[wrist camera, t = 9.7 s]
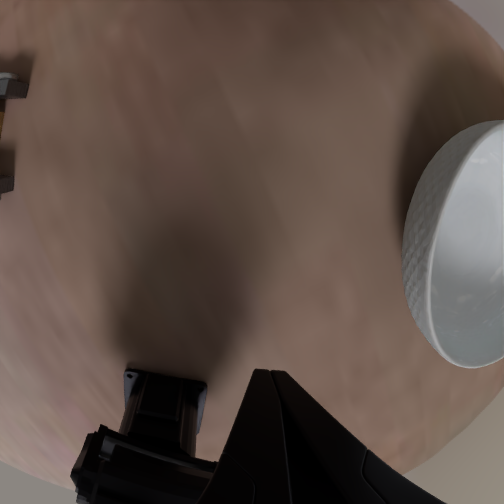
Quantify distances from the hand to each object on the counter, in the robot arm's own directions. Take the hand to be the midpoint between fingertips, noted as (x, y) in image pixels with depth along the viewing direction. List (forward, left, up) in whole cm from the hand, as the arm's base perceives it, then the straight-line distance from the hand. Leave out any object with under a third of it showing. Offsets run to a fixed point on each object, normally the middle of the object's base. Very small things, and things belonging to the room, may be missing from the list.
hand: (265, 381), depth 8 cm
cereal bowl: (+5, -16, -12) cm, 21 cm away
